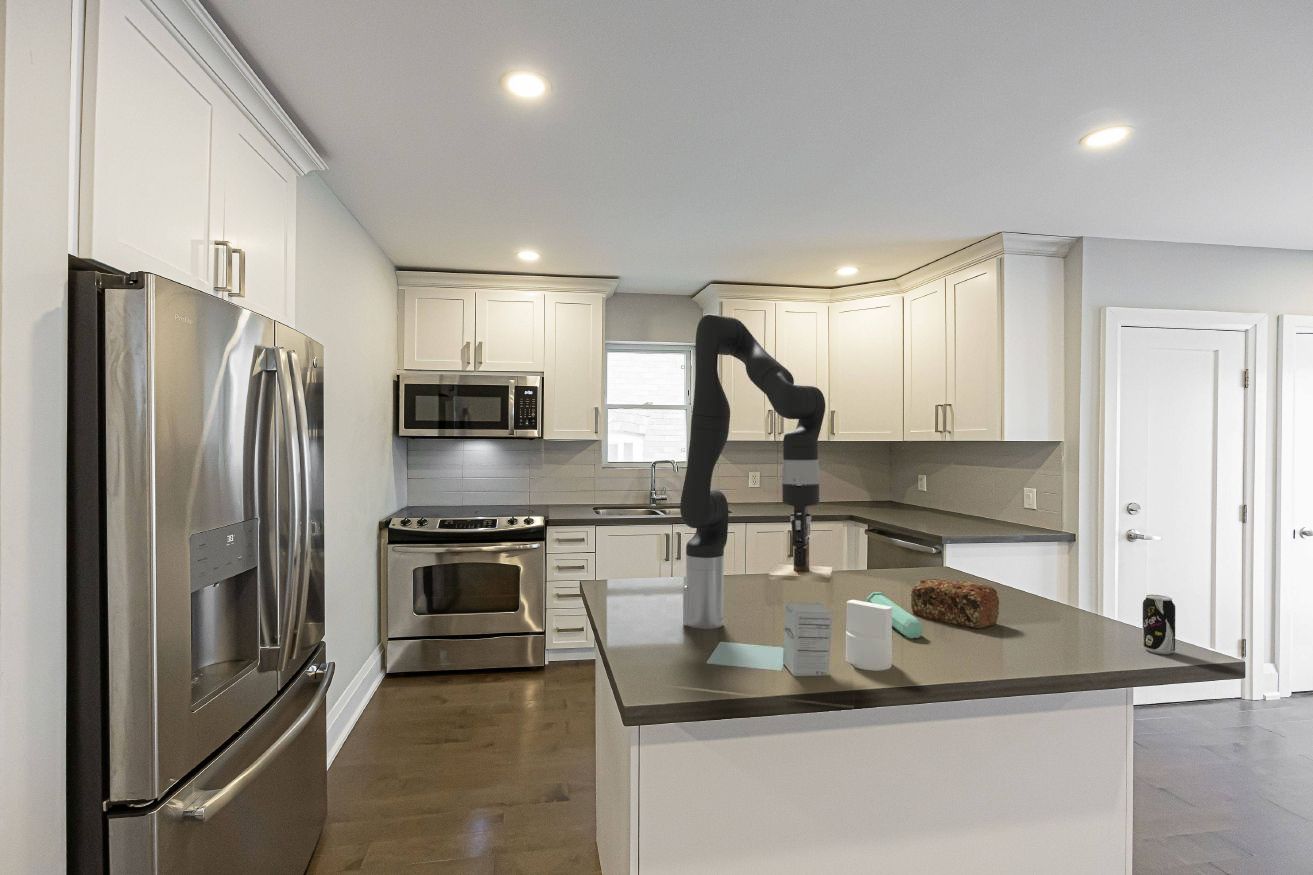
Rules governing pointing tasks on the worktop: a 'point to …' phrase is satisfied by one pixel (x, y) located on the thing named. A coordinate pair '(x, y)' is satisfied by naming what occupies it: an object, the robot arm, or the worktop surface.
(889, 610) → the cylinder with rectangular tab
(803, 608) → the supplement box
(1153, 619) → the beverage can
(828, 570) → the lid
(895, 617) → the container
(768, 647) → the mat
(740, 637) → the worktop surface
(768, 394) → the robot arm
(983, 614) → the bread
